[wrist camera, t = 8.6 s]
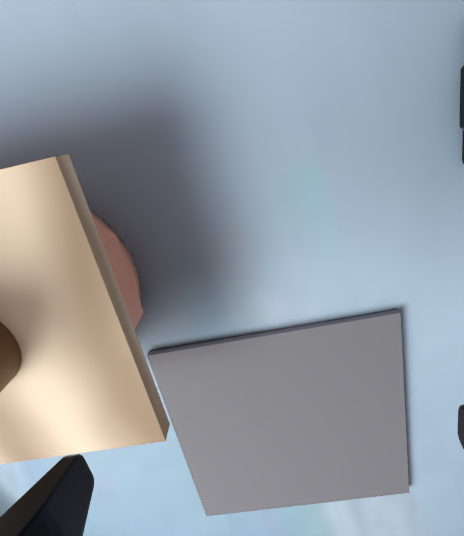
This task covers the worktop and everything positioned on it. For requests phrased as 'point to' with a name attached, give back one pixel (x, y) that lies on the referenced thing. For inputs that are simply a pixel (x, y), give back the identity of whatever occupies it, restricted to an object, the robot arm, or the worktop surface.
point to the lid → (64, 327)
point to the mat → (291, 413)
